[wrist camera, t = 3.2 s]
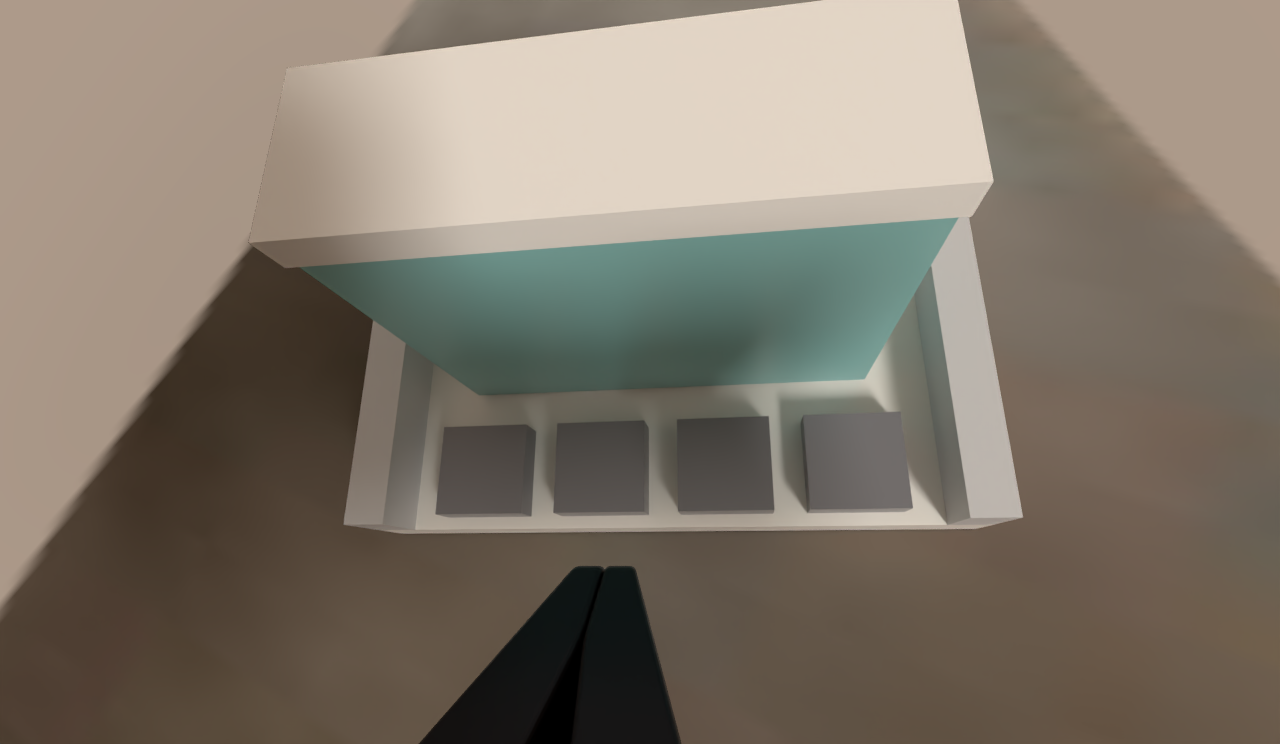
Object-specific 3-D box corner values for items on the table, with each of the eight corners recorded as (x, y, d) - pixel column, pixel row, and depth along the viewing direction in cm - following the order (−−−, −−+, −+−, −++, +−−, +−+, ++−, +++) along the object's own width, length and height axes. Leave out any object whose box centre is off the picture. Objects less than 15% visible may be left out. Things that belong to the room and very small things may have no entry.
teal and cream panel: (869, 382, 16) (993, 181, 8) (474, 399, 17) (248, 243, 9) (855, 266, 17) (954, -17, 9) (484, 290, 18) (286, 67, 10)
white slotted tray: (976, 528, 16) (1022, 517, 13) (402, 533, 18) (343, 524, 15) (916, 150, 19) (944, 81, 16) (442, 193, 21) (399, 138, 19)
